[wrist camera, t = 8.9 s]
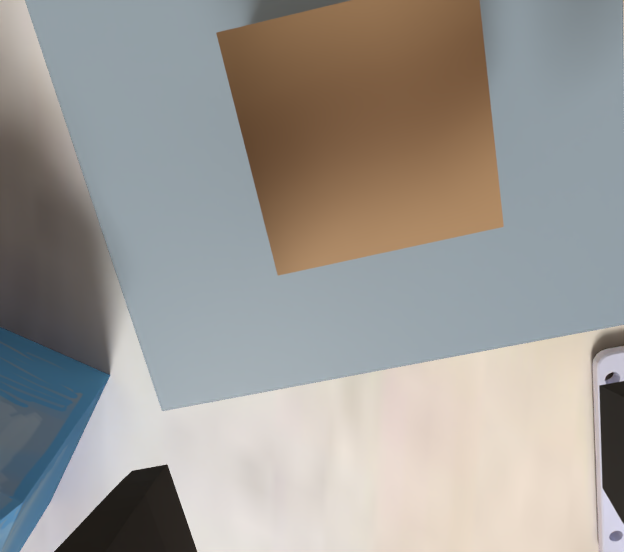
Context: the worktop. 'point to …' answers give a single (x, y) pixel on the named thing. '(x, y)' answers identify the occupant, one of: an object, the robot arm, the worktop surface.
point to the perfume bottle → (38, 428)
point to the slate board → (353, 273)
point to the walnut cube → (366, 127)
